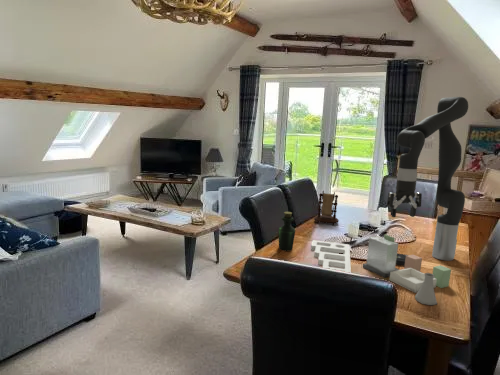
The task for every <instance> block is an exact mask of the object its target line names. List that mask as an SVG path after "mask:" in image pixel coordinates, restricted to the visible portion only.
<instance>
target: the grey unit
mask: <svg viewBox="0 0 500 375" xmlns="http://www.w3.org/2000/svg"><path fill="white" fill-rule="evenodd" d="M383 235H384V236H383V237H382V236H372V237H369V240H368V245H367V247H368V249H367V254H366V255H367V256H366V262H365V263H363V264H362V268H364V269H366V270H368V271H369V272H372V273H373V274H376V275H378V276H380V277H382V278H383V279H384V278H390V272H393V271H397V270H400V269H399V268H396V266H397V265H396V258H397V254H398V247H399V242H396V241H395V240H396V238H395V237H393V236H391V235H388V234H383Z"/></svg>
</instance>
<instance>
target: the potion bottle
mask: <svg viewBox="0 0 500 375" xmlns="http://www.w3.org/2000/svg"><path fill="white" fill-rule="evenodd" d="M283 214H284V215H283V216H282V217H281V220H282V221H283V225H281V226H279V227H278V249H279V250H280V251H283V252H291V251H292V250H293V246H294V241H295V235H296V229H295V227H293V226H292V225H291V224H292V222H294V217H293V216H292V214H293V212H291V211H284V212H283Z"/></svg>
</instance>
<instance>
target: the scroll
mask: <svg viewBox="0 0 500 375" xmlns="http://www.w3.org/2000/svg"><path fill="white" fill-rule="evenodd" d="M318 197H319V199H318V208H317V215H316V216H314V218H313V220H314V221H315V222H316V224H317V225H318V224H319V223H321V224H329V225H332V226H335V224H339V219H338V218H337V206H338V198H339V195H338V194H336V191H334V192H333V193H327V192H325V191H324V190H323V191H322V193H319V194H318Z"/></svg>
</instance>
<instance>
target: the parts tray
mask: <svg viewBox="0 0 500 375" xmlns="http://www.w3.org/2000/svg"><path fill="white" fill-rule="evenodd" d="M424 279H425V273H424V272H421V271H420V272H419V271H417V270H415V269H412V268H407V269H404V268H403V269H399V270H397V271H393V272H390V277H389V281H390V282H393V283H394V284H397V285H398V286H401V287H403V288H404V289H406V290H408V291H411V292H412V293H416V294H417V292H418V291H419V289H420V288H421V286H422V284H423V282H424ZM436 281H437V279H436V278H433V288H434V289H436V287H437V286H436Z"/></svg>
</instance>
